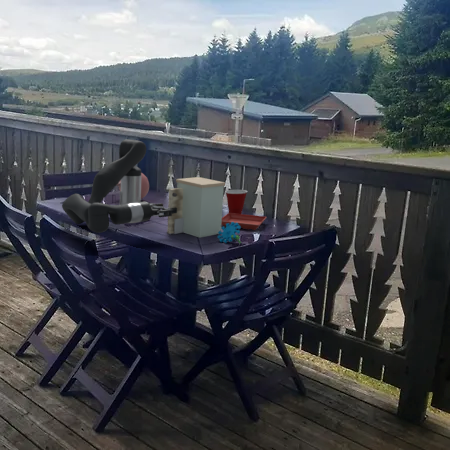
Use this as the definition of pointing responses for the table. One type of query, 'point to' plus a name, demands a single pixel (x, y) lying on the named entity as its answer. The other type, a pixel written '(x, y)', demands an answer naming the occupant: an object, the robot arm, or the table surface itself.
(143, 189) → the balloon
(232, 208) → the plastic cup
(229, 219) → the plant saucer
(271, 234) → the table surface
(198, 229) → the cabinet
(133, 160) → the robot arm
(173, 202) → the tall wooden plank
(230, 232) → the gear
